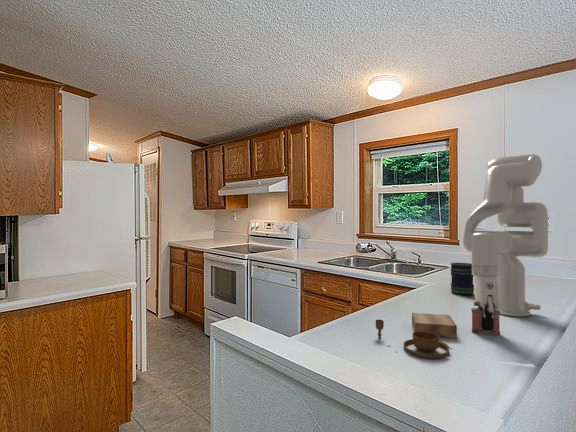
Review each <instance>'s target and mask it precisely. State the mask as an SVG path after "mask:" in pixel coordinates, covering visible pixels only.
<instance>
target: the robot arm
mask: <svg viewBox="0 0 576 432" xmlns="http://www.w3.org/2000/svg"><path fill="white" fill-rule="evenodd" d="M542 168H543V162H542V159H541V157H540V156H539V155H537V154H531V153H530V154H524V155H513V156H504V157H503V156H502V157H498V158H494V159H492V160H490V161H489V162H488V163H487V172H486V177H485V178H486V179H485V185H484V190H483V191H484V193H483V197H482V198H483V199H482V203H481V204H480V205H479V206H477V207H476V208H475V209H474V210H473V211H472V212H471V214H470V215H469V217H468V218H467V219H466V221H465V224H464V225H465V226H464V231H463V238H462V239H463V240H462V242H463V243H462V244H463V247H464V249H465V250H466V252H467V251H468V252H469V253H471V264H472V275H474V276H473V277H474V291H473V292H474V293H473V295H474V302H478V303H479V305H480V306H481V308H482V312H483V317H482V330H488V331H493V313H494V308H495V310H499V311H500V314H499V315H503V316H509V317H518V318H519V317H520V318H521V317H529V316H530V315H531V310H534V311H540V310H541V305H540V304H536V303H535V304H534V303H530V302H529V303H528V302H527V301H526V268H525V266H524V264H523V262H522V261H521V260H520V259H519V257H530V258H531V257H532V258H543V257H544V256H546V255H547V254H548V250H549V214H548V208H547V207H546V205H545V204H543V203H542V202H536V201H535V202H532V201H531V202H529V201H528V202H525V201H524V197H525V196H524V193H525V192H524V189H523V187H531V186H533V185H534V184H535V183H536V181H537V179H538V178H539V177H540V175H541V173H542V170H543V169H542ZM495 215H497V222H498V224H499V225H500V226H501V227H503V228H504V227H505V228H506V227H507V228H530V229H532V230H531V231H530V230H528V231H527V230H526V231H524V230H501V231H498V230H497V231H496V230H495V231H494V230H477V228H478V226H479V225H480V224H481V222H483V221H485V220H486V219H488V218H491V217H493V216H495ZM493 304H494V305H493ZM486 306H488V307H486ZM493 306H494V308H493ZM485 310H486V312H485ZM487 310H488V311H487Z"/></svg>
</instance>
